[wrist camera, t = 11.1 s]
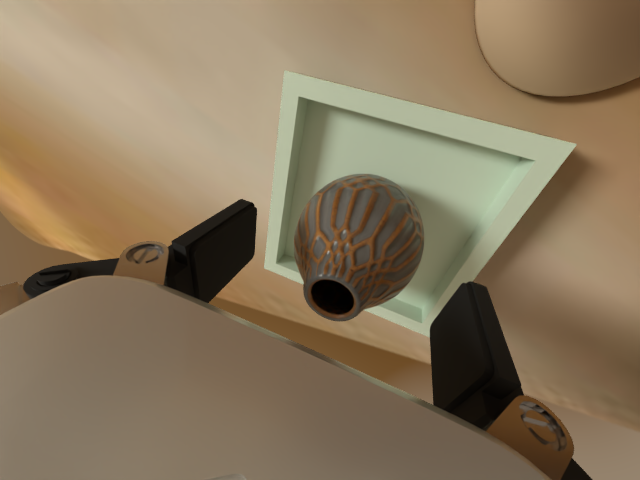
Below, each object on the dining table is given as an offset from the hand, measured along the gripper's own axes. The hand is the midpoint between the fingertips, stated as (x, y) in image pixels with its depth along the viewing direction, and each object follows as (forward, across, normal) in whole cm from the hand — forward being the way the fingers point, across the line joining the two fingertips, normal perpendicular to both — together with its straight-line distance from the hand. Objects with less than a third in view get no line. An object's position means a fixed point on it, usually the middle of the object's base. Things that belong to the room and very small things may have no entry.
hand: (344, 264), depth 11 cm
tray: (+7, 0, +1) cm, 7 cm away
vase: (+7, 0, 0) cm, 7 cm away
